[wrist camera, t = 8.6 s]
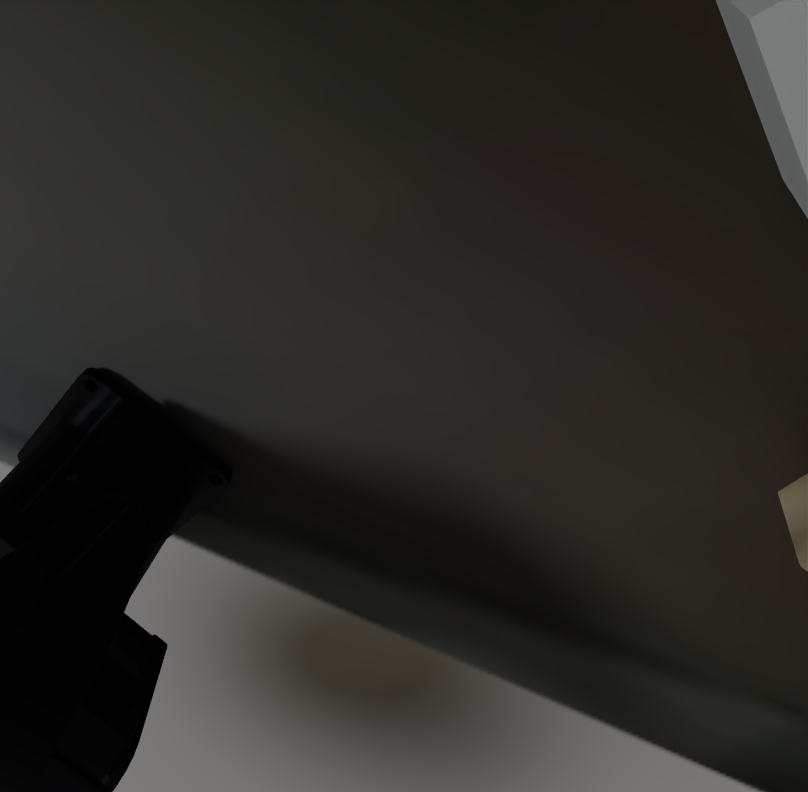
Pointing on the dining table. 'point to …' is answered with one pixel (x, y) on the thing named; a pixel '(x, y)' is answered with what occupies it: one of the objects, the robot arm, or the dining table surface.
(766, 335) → the dining table surface
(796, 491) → the oak slab
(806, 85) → the grey cube
